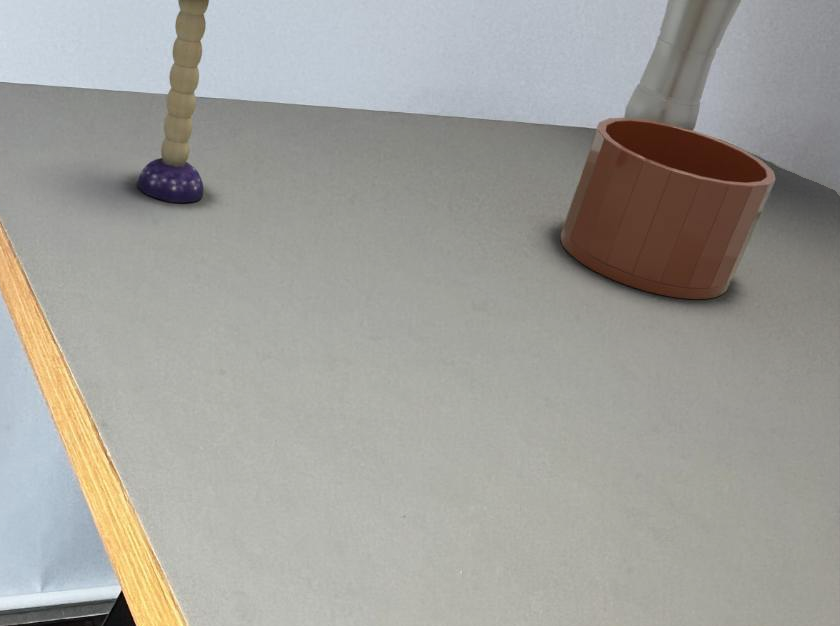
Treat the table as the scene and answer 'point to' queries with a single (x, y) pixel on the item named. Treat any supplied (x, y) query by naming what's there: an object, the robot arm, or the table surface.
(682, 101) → the plastic bottle
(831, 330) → the table surface
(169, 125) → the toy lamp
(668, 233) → the crock
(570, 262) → the table surface
